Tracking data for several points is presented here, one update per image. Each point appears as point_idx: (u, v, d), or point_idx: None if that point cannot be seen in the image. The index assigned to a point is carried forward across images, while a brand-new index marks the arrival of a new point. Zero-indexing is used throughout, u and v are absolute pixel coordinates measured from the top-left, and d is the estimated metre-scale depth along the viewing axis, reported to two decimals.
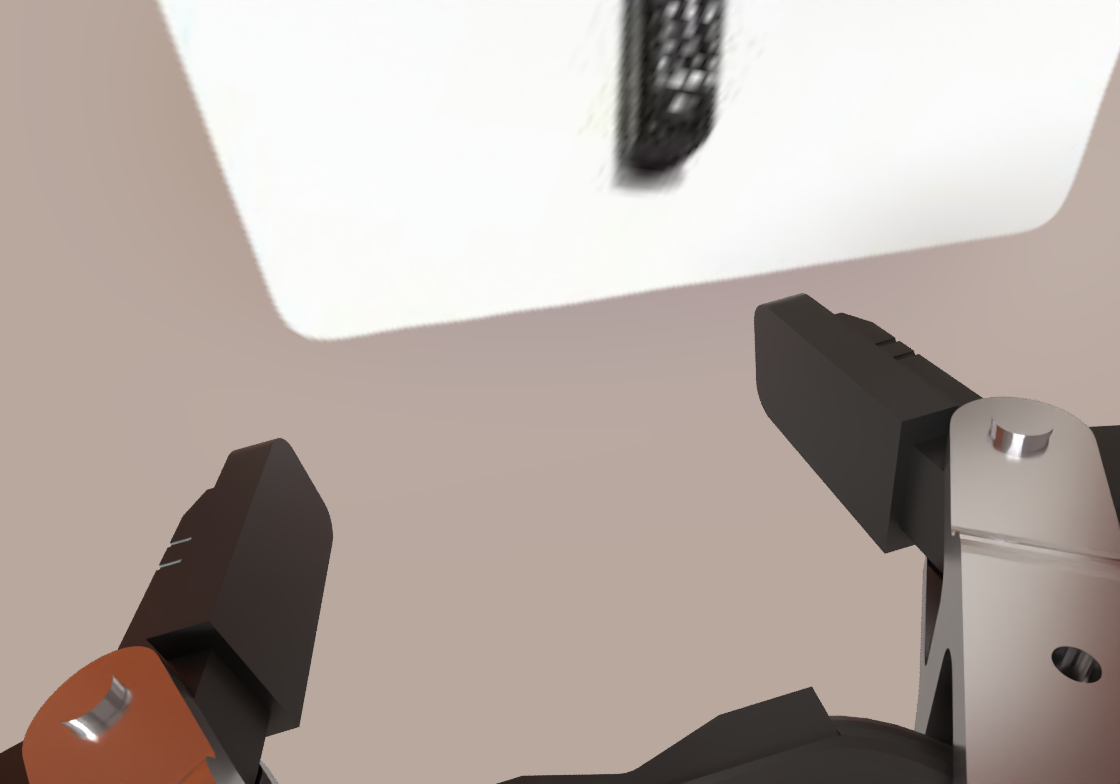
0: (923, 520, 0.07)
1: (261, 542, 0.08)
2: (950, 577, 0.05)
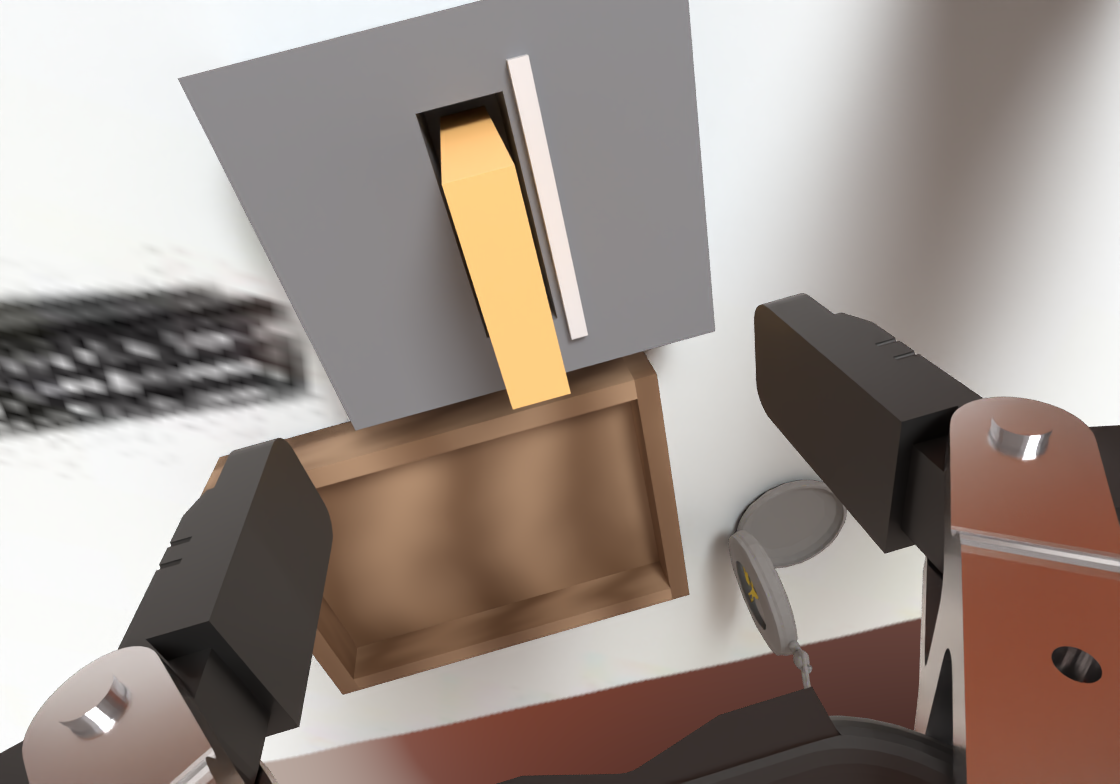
0: (923, 520, 0.07)
1: (262, 542, 0.08)
2: (950, 577, 0.05)
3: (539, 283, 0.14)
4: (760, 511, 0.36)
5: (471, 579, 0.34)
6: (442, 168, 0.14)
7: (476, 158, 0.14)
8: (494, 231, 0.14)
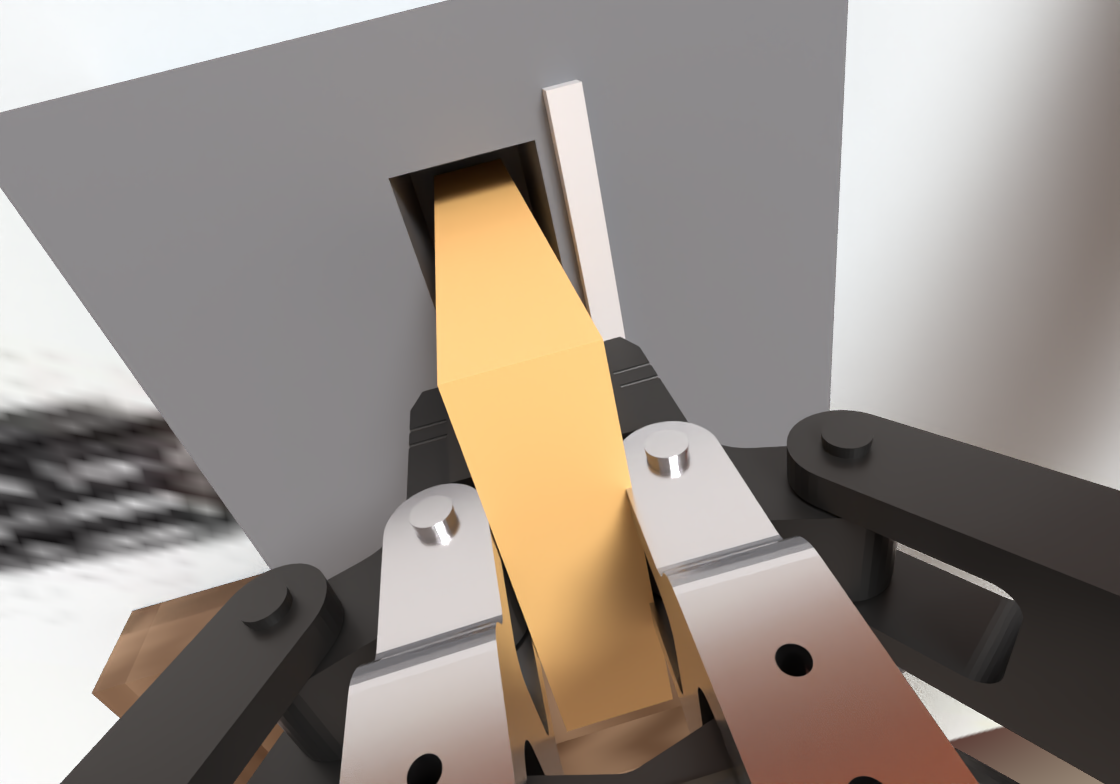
0: None
1: None
2: (674, 616, 0.05)
3: (634, 544, 0.07)
4: None
5: None
6: (438, 318, 0.07)
7: (507, 295, 0.07)
8: (549, 465, 0.06)
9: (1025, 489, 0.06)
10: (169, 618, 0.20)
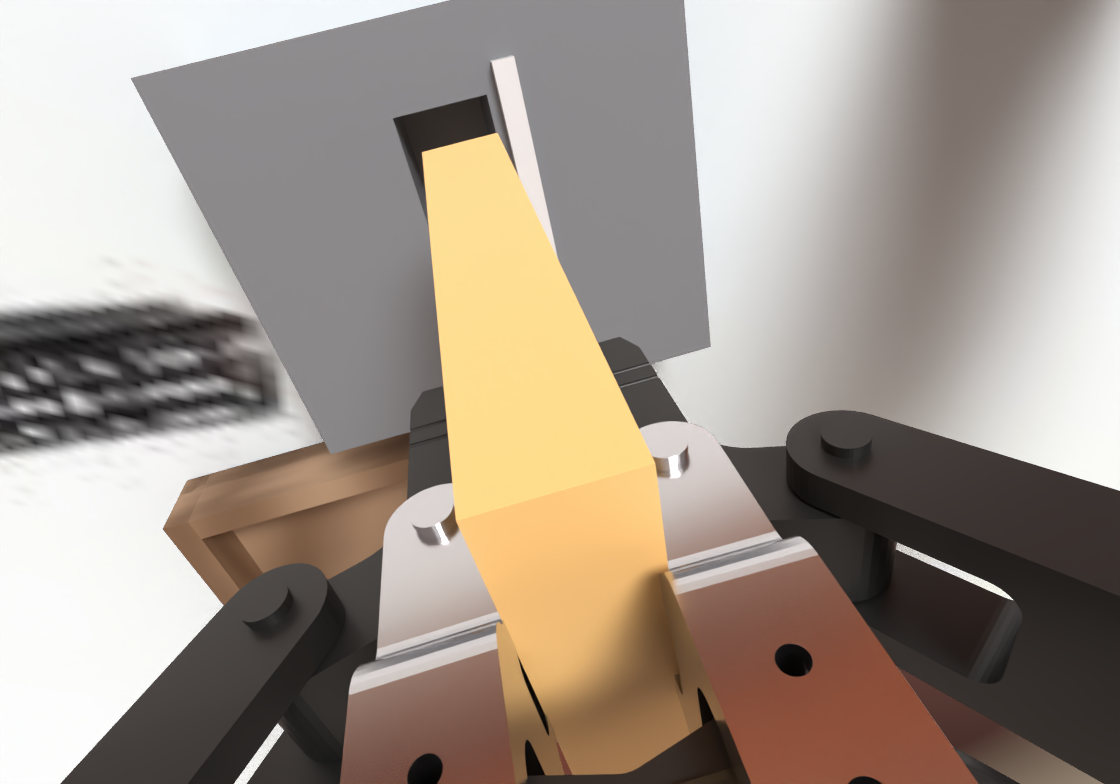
0: None
1: None
2: (673, 616, 0.05)
3: (668, 643, 0.06)
4: None
5: None
6: (447, 400, 0.06)
7: (527, 367, 0.06)
8: (583, 584, 0.05)
9: (1024, 488, 0.06)
10: (217, 482, 0.26)
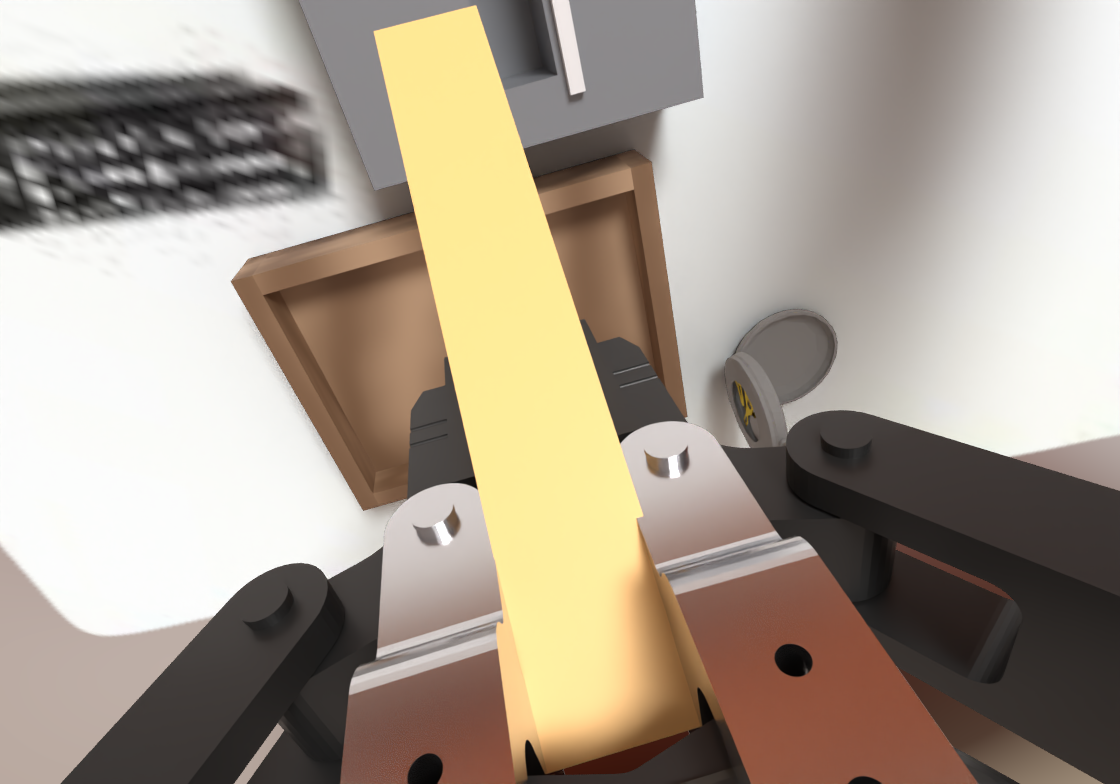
0: None
1: None
2: (673, 616, 0.05)
3: None
4: (755, 344, 0.38)
5: None
6: (507, 603, 0.06)
7: (581, 560, 0.06)
8: None
9: (1023, 489, 0.06)
10: (275, 256, 0.30)
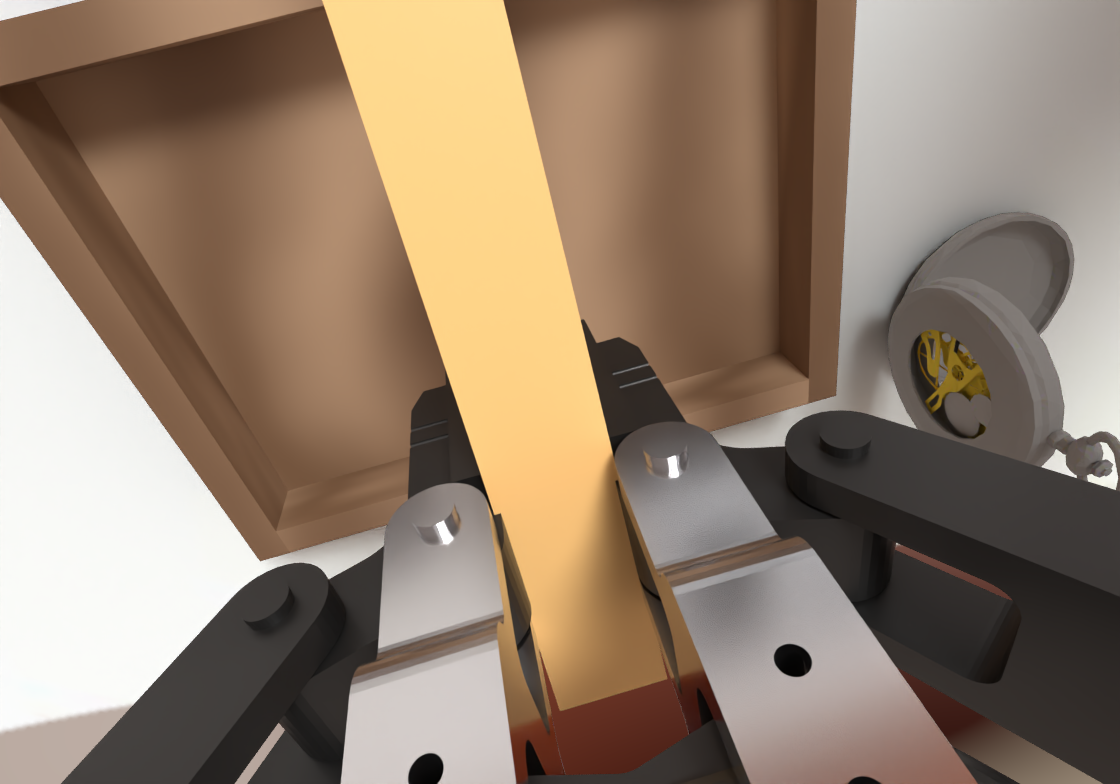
0: None
1: None
2: (673, 616, 0.05)
3: None
4: (938, 275, 0.22)
5: None
6: (534, 629, 0.08)
7: (590, 600, 0.08)
8: None
9: (1023, 489, 0.06)
10: None
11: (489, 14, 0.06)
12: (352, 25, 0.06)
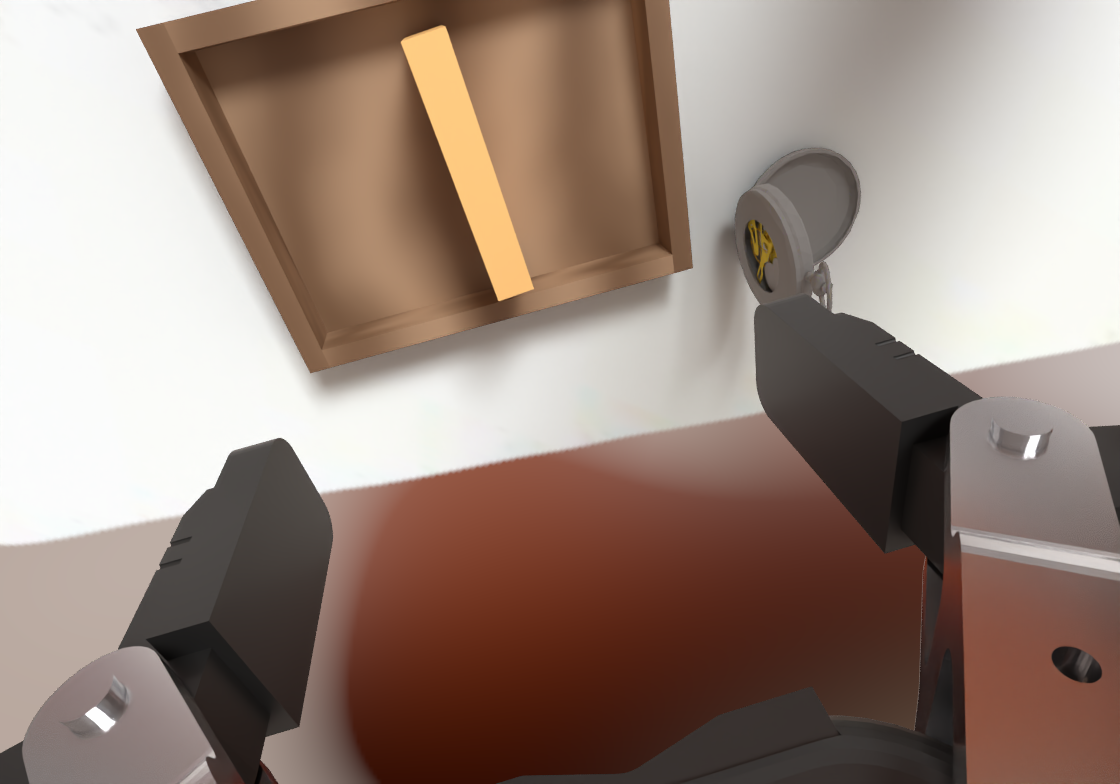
0: (924, 521, 0.07)
1: (261, 542, 0.08)
2: (950, 577, 0.05)
3: None
4: None
5: (453, 243, 0.30)
6: (487, 269, 0.25)
7: (504, 258, 0.25)
8: None
9: None
10: None
11: (457, 74, 0.21)
12: (421, 80, 0.21)
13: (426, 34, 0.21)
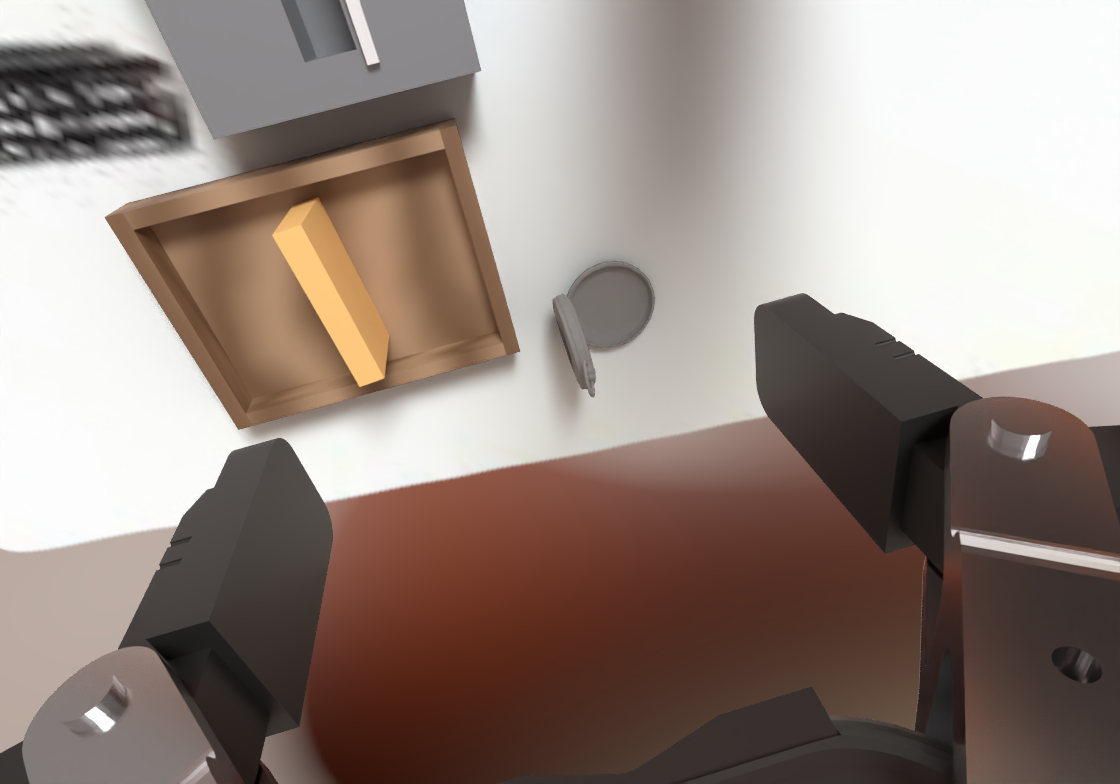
0: (923, 520, 0.07)
1: (262, 542, 0.08)
2: (950, 577, 0.05)
3: (385, 357, 0.40)
4: (583, 292, 0.44)
5: None
6: (348, 366, 0.36)
7: (360, 359, 0.36)
8: None
9: None
10: (147, 200, 0.35)
11: (312, 251, 0.33)
12: (288, 256, 0.33)
13: (288, 230, 0.32)
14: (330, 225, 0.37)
